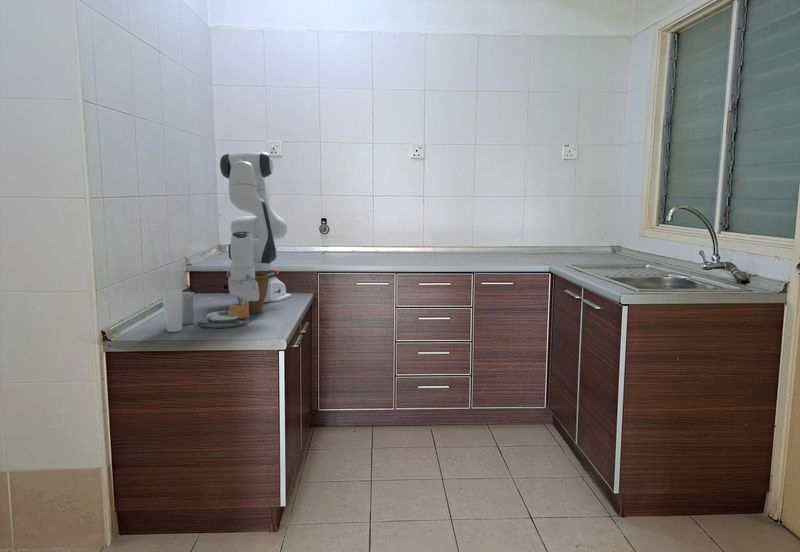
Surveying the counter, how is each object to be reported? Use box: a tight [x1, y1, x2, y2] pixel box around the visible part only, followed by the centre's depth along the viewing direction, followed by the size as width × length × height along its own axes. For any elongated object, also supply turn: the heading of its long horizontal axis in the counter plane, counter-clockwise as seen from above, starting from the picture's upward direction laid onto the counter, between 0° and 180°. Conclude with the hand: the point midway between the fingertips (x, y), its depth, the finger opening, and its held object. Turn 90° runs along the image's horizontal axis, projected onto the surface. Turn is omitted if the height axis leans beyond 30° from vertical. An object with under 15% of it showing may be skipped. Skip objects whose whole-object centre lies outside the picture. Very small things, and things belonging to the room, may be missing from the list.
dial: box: [206, 304, 250, 323], centre depth 224 cm, size 16×12×5 cm
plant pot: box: [236, 273, 269, 315], centre depth 244 cm, size 15×15×16 cm
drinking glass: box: [162, 288, 184, 333], centre depth 211 cm, size 7×7×15 cm
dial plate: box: [197, 316, 250, 330], centre depth 225 cm, size 19×19×2 cm
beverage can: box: [182, 291, 195, 326], centre depth 223 cm, size 6×6×12 cm
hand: (244, 309), depth 227 cm, fingers closed
